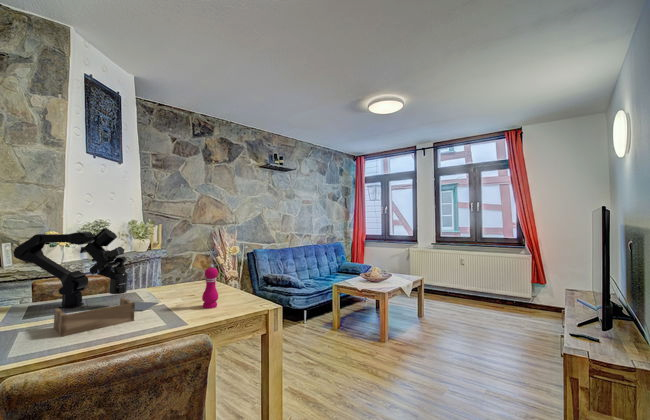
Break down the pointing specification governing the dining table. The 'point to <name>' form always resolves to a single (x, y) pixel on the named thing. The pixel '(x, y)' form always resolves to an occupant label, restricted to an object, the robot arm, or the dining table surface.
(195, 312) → the dining table surface
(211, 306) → the pepper mill
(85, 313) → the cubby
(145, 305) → the felt mat
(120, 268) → the supplement bottle
